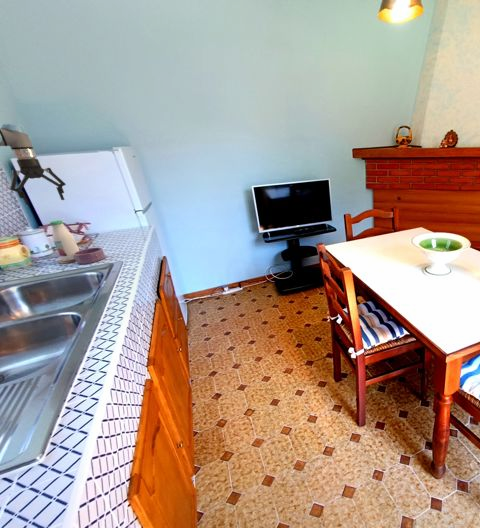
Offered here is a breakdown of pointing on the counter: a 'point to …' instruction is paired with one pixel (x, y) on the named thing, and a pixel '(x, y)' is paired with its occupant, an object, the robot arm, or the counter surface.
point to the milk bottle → (63, 241)
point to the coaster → (66, 262)
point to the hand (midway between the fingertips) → (45, 202)
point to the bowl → (89, 255)
